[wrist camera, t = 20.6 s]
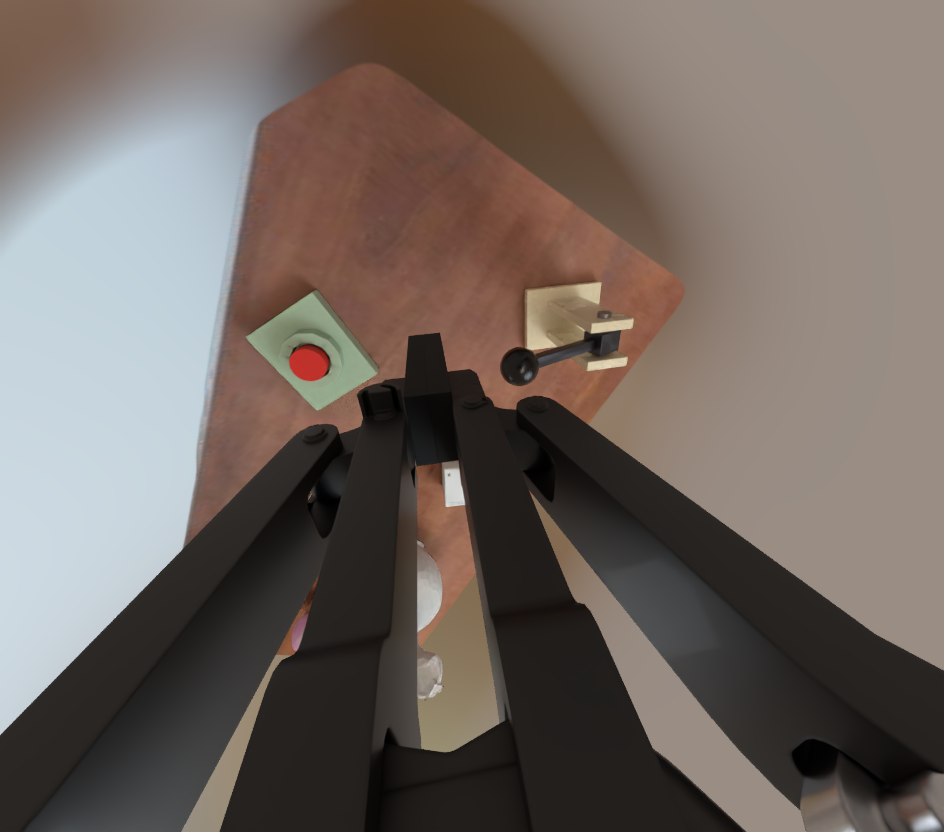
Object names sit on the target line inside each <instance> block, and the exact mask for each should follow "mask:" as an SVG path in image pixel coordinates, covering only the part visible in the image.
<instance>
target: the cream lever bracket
mask: <svg viewBox="0 0 944 832" xmlns="http://www.w3.org/2000/svg"><path fill="white" fill-rule="evenodd" d="M600 289H601V282H598V281H593V282H584V283H575V284H566V285H557V286H548V287H539V288H530V289H525V348H527V349H529V350H535V349H542V348H550V347H560V346H563V345H567V344H570V343H573V342H577V341H580V340H583V339H584V331H587V332H589V333H591V334H592V333H600V332H608V331H615V330H623V329H631V328H632V327H633V321H634V319H633V318H631V317H629V316H626V315H624V314H621V313H619V312H616V311H614V310H611V309H609V308H606V307H604V306H602V305H599V299H600ZM571 358H572V359H573V360H574V361H576V362H577V363H578V364H579V365H581V366H582V367H583V368H584V369H585V370H587V371H590V370H598V369H605V368H613V367H620V366H626V364H627V358H628V357H627V356H625V355H624V354H622V353H620V352H619V351H614V352H611V353H608V354H605V355H602V356H598V355H595V354H592V353H589V352H586V353H583V354H580V355H577V356H574V357H571Z"/></svg>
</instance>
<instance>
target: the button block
mask: <svg viewBox="0 0 944 832" xmlns="http://www.w3.org/2000/svg"><path fill="white" fill-rule="evenodd" d="M245 338H246V339H247V340H248V341H249V342H250V343H251V344H252V345H253V346H254V347H255V348H256V349H257V350H258V351H259V352H260V353H261V354H262V355H263V356H264V357H265V358H266V359H267V360H268V361H269V362H270V363H271V364H272V366H273V367H274V368H275V369H276V370H277V371H278V372H279V373H280V374H281V375H282V376H283V377H284V378H285V379H286V380H287V381H288V382H289V383H290V384H291V385H292V386H293V387H294V388H295V389H296V390H297V391H298V392H299V393H300V394H301V395H302V396H303V397H304V398H305V399H306V400H307V401H308V402H309V403H310V404H311V405H312V406H313V407H314V408H315V409H316V410H317V411H318V410H320V409H322V408H323V407H325V406H327V405H328V404H330V403H331V402H333V401H335V400H336V399H338V398H339V397H341V396H343V395H344V394H346V393H347V392H349V391H351V390H352V389H354V388H356V387H357V386H359V385H360V384H362V383H364V382H365V381H367V380H368V379H370V378H372V377H373V376H375V375H376V374H377V373H378V369H379V368H378V366H377V365H376V364H375V362H374V361H373V360H372V359H371V357H370V356H369V355H368V354H367V352H366V351H365V350H364V349H363V347H362V346H361V345H360V343H359V342H358V341H357V340H356V338H355V337H354V336H353V335H352V333H351V332H350V331H349V330H348V328H347V327H346V326H345V324H344V323H343V322H342V321H341V319H340V318H339V317H338V316H337V314H336V313H335V312H334V311H333V309H332V308H331V307H330V305H329V304H328V303H327V302H326V300H325V299H324V298H323V297H322V295H321V294H320V293H319V292H318V290H317V289H316V290H314V291H313V292H311V293H310V294H308V295H307V296H305V297H304V298H302V299H301V300H299V301H298V302H296V303H295V304H293V305H292V306H290V307H289V308H287V309H286V310H285V311H283V312H282V313H280V314H279V315H277V316H276V317H274V318H273V319H271V320H270V321H268V322H267V323H265V324H264V325H263V326H261V327H260V328H258V329H257V330H255V331H254V332H252V333H251V334H249V335H248V336H246V337H245ZM303 345H314V346H317V347H319V348H321V349H322V350H323V351H324V352H325V353H326V354H327V356H328V359H329V367H328V369H327V371H326V372H325V374H324V375H323V377H322V378H320V379H319V380H316V381H305V380H302V379H300V378H298V377H297V376H296V375H295V374H294V373H293V372H292V370H291V368H290V365H289V360H290V357H291V355H292V354H293V353H294V352H295V351H296V350H297V349H298V348H299V347H301V346H303Z"/></svg>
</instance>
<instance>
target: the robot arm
mask: <svg viewBox="0 0 944 832" xmlns="http://www.w3.org/2000/svg"><path fill="white" fill-rule="evenodd" d="M357 396H358V400H359V404H360V407H361V411H362V415H363V420H362V424H361V427H359V428H357V429H354V430H351V431H348V432H344V433H341V434H339V432H338V429H337V427H336V426H334V425H330V424H321V425H319V424H317V425H314V426H310V427H307V428H306V429H304V430H302V431H300V432H299V433H297V434H296V435H295V436H294V437H293V438H292V439H291V440H290V441H289V442H288V443H287V444H286V445H285V446H284V447H283V448H282V449H281V450H280V451H279V452H278V453H277V454H276V455H275V456H274V457H273V458H272V459H271V460H270V461H269V462H268V463H267V464H266V465H265V466H264V467H263V468H262V469H261V470H260V471H259V472H258V473H257V474H256V475H255V476H254V477H253V478H252V479H251V481H250V482H249V483H248V484H247V485H246V486H245V487H244V488H243V489H242V490H241V491H240V492H239V493H238V494H237V495H236V496H235V497H234V498H233V499H232V500H231V501H230V502H229V503H228V504H227V505H226V506H225V507H224V508H223V509H222V510H221V511H220V512H219V513H218V514H217V515H216V516H215V517H214V518H213V519H212V520H211V521H210V522H209V523H208V524H207V525H206V526H205V527H204V528H203V529H202V530H201V531H200V532H199V533H198V534H197V535H196V536H195V537H194V539H193V540H192V541H191V542H190V543H189V544H188V545H187V546H186V547H185V548H184V549H183V550H182V551H181V552H180V553H179V554H178V555H177V556H176V557H175V558H174V559H173V560H172V561H171V562H170V563H169V564H168V565H167V566H166V567H165V568H164V569H163V570H162V571H161V572H160V573H159V574H158V575H157V576H156V577H155V578H154V579H153V580H152V581H151V582H150V583H149V584H148V585H147V586H146V587H145V588H144V589H143V591H141V592H140V593H139V594H138V596H137V597H136V598H135V599H134V600H133V601H132V602H131V603H130V604H129V605H128V606H127V607H126V608H125V609H124V610H123V611H122V612H121V613H120V614H119V615H118V616H117V617H116V618H115V619H114V620H113V621H112V622H111V623H110V624H109V625H108V626H107V627H106V628H105V629H104V630H103V631H102V632H101V633H100V634H99V635H98V636H97V637H96V638H95V639H94V640H93V641H92V642H91V643H90V644H89V646H87V647H86V648H85V649H84V650H83V651H82V653H81V654H80V655H79V656H78V657H77V658H76V659H75V660H74V661H73V662H72V663H71V664H70V665H69V666H68V667H67V668H66V669H65V670H64V671H63V672H62V673H61V674H60V675H59V676H58V677H57V678H56V679H55V680H54V681H53V682H52V683H51V684H50V685H49V686H48V687H47V688H46V689H45V690H44V691H43V692H42V693H41V694H40V695H39V696H38V697H37V699H35V700H34V701H33V703H31V705H29V706H28V707H27V708H26V710H24V712H23V713H22V714H21V715H20V716H19V717H18V718H17V719H16V720H15V721H14V722H13V723H12V724H11V725H10V726H9V727H8V728H7V729H6V730H5V731H4V732H3V733H2V734H1V735H0V832H181V831H182V829H183V827H184V825H185V823H186V821H187V820H188V818H189V816H190V814H191V812H192V810H193V808H194V807H195V805H196V802H197V801H198V799H199V797H200V795H201V793H202V792H203V790H204V788H205V786H206V784H207V782H208V780H209V778H210V777H211V775H212V773H213V771H214V769H215V767H216V765H217V764H218V762H219V760H220V758H221V756H222V754H223V752H224V750H225V749H226V747H227V745H228V743H229V741H230V739H231V737H232V735H233V734H234V732H235V730H236V728H237V726H238V724H239V722H240V720H241V719H242V717H243V715H244V713H245V711H246V709H247V707H248V705H249V704H250V702H251V700H252V698H253V696H254V694H255V692H256V691H257V689H258V687H259V685H260V683H261V681H262V679H263V677H264V676H265V674H266V672H267V670H268V668H269V666H270V664H271V662H272V661H273V659H274V657H275V655H276V653H277V651H278V649H279V648H280V646H281V644H282V642H283V640H284V638H285V636H286V634H287V633H288V631H289V629H290V627H291V625H292V623H293V621H294V620H295V618H296V616H297V614H298V612H299V610H300V608H301V606H302V605H303V603H304V601H305V599H306V597H307V595H308V593H309V591H310V590H311V588H312V586H313V584H314V582H315V580H316V578H317V576H318V575H319V573H320V575H319V579H318V582H317V586H316V589H315V593H314V596H313V600H312V604H311V607H310V611H309V614H308V618H307V622H306V625H305V629H304V632H303V636H302V640H301V642H300V645H299V648H298V649H297V651H296V652H295V654H294V655H292V656H290V657H288V658H286V659H284V660H282V661H281V662H280V663H279V665H278V666H277V667H276V669H275V670H274V672H273V674H272V676H271V679H270V681H269V684H268V686H267V688H266V691H265V694H264V697H263V700H262V703H261V706H260V709H259V712H258V715H257V718H256V722H255V724H254V728H253V731H252V734H251V737H250V740H249V743H248V746H247V749H246V752H245V755H244V758H243V762H242V764H241V767H240V771H239V774H238V777H237V780H236V783H235V786H234V789H233V792H232V795H231V798H230V801H229V805H228V807H227V811H226V814H225V817H224V820H223V823H222V826H221V829H220V832H746V831H745V830H744V829H742V828H741V827H740V826H739V825H738V824H737V823H736V822H735V821H734V820H733V819H732V818H731V817H730V816H728V815H727V814H726V813H725V812H724V811H723V810H722V809H721V808H720V807H719V806H718V805H717V804H716V803H715V802H713V801H712V800H711V799H710V798H709V797H708V796H707V795H706V794H705V793H704V792H703V791H702V790H701V789H699V788H698V787H697V786H696V785H695V784H694V783H693V782H692V781H691V780H690V779H689V778H687V776H685V775H684V774H683V773H682V772H681V771H680V770H679V769H678V768H677V767H676V766H674V765H673V764H672V763H671V762H670V761H669V760H667V759H666V758H664V757H663V756H662V755H661V754H659V753H658V752H657V751H655V750H654V749H653V748H652V746H651V744H650V741H649V739H648V737H647V735H646V732H645V730H644V728H643V726H642V723H641V721H640V719H639V717H638V714H637V712H636V710H635V708H634V705H633V703H632V701H631V699H630V697H629V694H628V692H627V690H626V687H625V685H624V683H623V681H622V679H621V676H620V674H619V672H618V669H617V667H616V665H615V663H614V661H613V658H612V656H611V654H610V652H609V649H608V647H607V645H606V642H605V640H604V638H603V636H602V633H601V631H600V629H599V627H598V625H597V623H596V621H595V619H594V617H593V615H592V613H591V612H590V610H589V609H588V608H587V607H586V606H585V604H581V603H577V602H576V601H575V599H574V598H573V596H572V594H571V592H570V590H569V587H568V585H567V582H566V580H565V578H564V575H563V573H562V570H561V568H560V565H559V563H558V560H557V558H556V556H555V553H554V551H553V548H552V546H551V543H550V541H549V538H548V536H547V534H546V531H545V529H544V526H543V524H542V521H541V519H540V516H539V514H538V512H537V509H536V507H535V504H534V502H533V499H532V497H531V495H530V492H531V493H532V494H533V495H534V497H535V498H536V499H537V500H538V501H539V503H540V504H541V505H542V507H543V508H544V509H545V510H546V512H547V513H548V514H549V515H550V516H551V518H552V519H553V520H554V521H555V523H556V524H557V525H558V527H559V528H560V529H561V530H562V532H563V533H564V534H565V535H566V537H567V538H568V539H569V540H570V542H571V543H572V544H573V545H574V546H575V548H576V549H577V550H578V552H579V553H580V554H581V555H582V557H583V558H584V559H585V560H586V562H587V563H588V564H589V565H590V567H591V568H592V569H593V570H594V572H595V573H596V574H597V575H598V577H599V578H600V579H601V580H602V582H603V583H604V584H605V585H606V587H607V588H608V589H609V590H610V592H611V593H612V594H613V595H614V597H615V598H616V599H617V601H618V602H619V603H620V604H621V605H622V607H623V608H624V609H625V610H626V611H627V613H628V614H629V615H630V617H631V618H632V619H633V621H634V622H635V623H636V624H637V626H638V627H639V628H640V629H641V631H642V632H643V633H644V634H645V636H646V637H647V638H648V639H649V641H650V642H651V643H652V644H653V646H654V647H655V648H656V649H657V650H658V652H659V653H660V654H661V656H662V657H663V658H664V659H665V660H666V662H667V663H668V664H669V665H670V667H671V668H672V669H673V671H674V672H675V673H676V674H677V676H678V677H679V678H680V679H681V681H682V682H683V683H684V684H685V686H687V688H688V689H689V690H690V692H691V693H692V694H693V696H694V697H695V698H696V699H697V701H698V702H699V703H700V704H701V706H702V707H703V708H704V709H705V711H706V712H707V713H708V714H709V715H710V717H711V718H712V719H713V720H714V721H715V722H716V724H717V725H718V726H719V727H720V728H721V729H722V731H723V732H724V733H725V734H726V735H727V736H728V738H729V739H730V740H731V741H732V742H733V744H734V745H735V746H736V747H737V748H738V749H739V751H741V753H742V754H743V755H744V756H745V757H746V758H747V759H748V760H749V761H750V762H751V763H752V764H753V765H754V766H755V767H756V768H757V769H758V770H759V771H760V772H761V773H762V774H763V775H764V776H765V777H766V778H767V779H768V780H769V781H770V782H771V783H772V784H773V785H774V787H775V788H776V789H778V790H779V791H780V792H781V793H782V794H783V795H784V796H785V797H786V798H787V799H788V800H790V801H791V802H792V803H793V804H794V805H795V806H796V807H797V808H798V809H799V810H800V811H801V814H802V818H803V822H804V825H805V830H806V832H944V671H943V670H941V669H940V668H938V667H936V666H934V665H932V664H930V663H928V662H926V661H925V660H923V659H921V658H919V657H917V656H915V655H913V654H911V653H909V652H908V651H906V650H904V649H902V648H900V647H898V646H896V645H894V644H892V643H891V642H889V641H887V640H885V639H883V638H881V637H879V636H877V635H876V634H874V633H873V632H871V631H870V630H869V629H867V628H866V627H864V626H863V625H862V624H860V623H859V622H858V621H856V620H855V619H854V618H852V617H851V616H850V615H848V614H847V613H845V612H844V611H843V610H841V609H840V608H839V607H837V606H836V605H834V604H833V603H832V602H830V601H829V600H828V599H826V598H825V597H823V596H822V595H821V594H819V593H818V592H817V591H815V590H814V589H812V588H811V587H810V586H808V585H807V584H806V583H804V582H803V581H802V580H800V579H799V578H797V577H796V576H795V575H793V574H792V573H790V572H789V571H788V570H786V569H785V568H783V567H782V566H781V565H779V564H778V563H777V562H775V561H774V560H773V559H771V558H770V557H769V556H767V555H766V554H764V553H763V552H762V551H760V550H759V549H758V548H756V547H755V546H754V545H752V544H751V543H749V542H748V541H746V540H745V539H744V538H742V537H741V536H740V535H738V534H737V533H736V532H734V531H733V530H732V529H730V528H729V527H727V526H726V525H725V524H723V523H722V522H720V521H719V520H718V519H716V518H715V517H714V516H712V515H711V514H710V513H708V512H707V511H706V510H704V509H702V508H701V507H700V506H699V505H697V504H696V503H695V502H693V501H692V500H690V499H689V498H687V497H686V496H685V495H684V494H682V493H681V492H679V491H678V490H677V489H675V488H674V487H673V486H671V485H670V484H668V483H667V482H666V481H664V480H663V479H662V478H660V477H659V476H658V475H656V474H655V473H653V472H652V471H651V470H649V469H648V468H647V467H645V466H644V465H642V464H641V463H640V462H638V461H637V460H636V459H634V458H633V457H631V456H630V455H629V454H627V453H626V452H625V451H623V450H622V449H620V448H619V447H618V446H616V445H615V444H614V443H612V442H611V441H609V440H608V439H607V438H605V437H604V436H603V435H601V434H600V433H598V432H597V431H596V430H594V429H593V428H591V427H590V426H589V425H588V424H586V423H585V422H583V421H582V420H581V419H579V418H578V417H577V416H575V415H574V414H572V413H571V412H570V411H568V410H567V409H566V408H564V407H563V406H562V405H560V404H559V403H557V402H556V401H554V400H552V399H550V398H546V397H543V396H532V397H527V398H524V399H522V400H520V401H519V402H518V403H517V407H516V410H511V409H501V408H497V407H494V404H493V402H492V400H491V399H490V398H488V397H486V396H485V394H484V391H483V389H482V386H481V384H480V381H479V378H478V376H477V373H475V372H474V371H472V370H470V369H467V370H459V371H450V372H447V367H446V362H445V357H444V352H443V346H442V341H441V336H440V333H433V334H424V335H414V336H409V339H408V350H407V362H406V374H405V378H398V379H390V380H385V381H383V382H382V383H379V384H374V385H370V386H368V387H365V388H364V389H362V390H360V391H359V393H358V394H357ZM415 460H416V465H417V466H422V465H429V464H436V463H443V462H450V461H457V460H458V462H459V471H460V480H461V486H462V489H463V495H464V501H465V507H466V513H467V520H468V526H469V532H470V538H471V544H472V550H473V557H474V563H475V569H476V575H477V581H478V587H479V594H480V600H481V606H482V612H483V618H484V624H485V630H486V637H487V643H488V649H489V654H490V661H491V667H492V674H493V679H494V686H495V693H496V699H497V707H498V715H499V722H500V724H498V725H496V726H495V727H493V728H491V729H490V730H488V731H486V732H485V733H483V734H481V735H480V736H478V737H476V738H475V739H473V740H471V741H470V742H468V743H466V744H465V745H463V746H461V747H460V748H458V749H456V750H454V751H451V752H437V751H430V750H424V749H421V736H420V727H419V719H418V705H417V471H416V466H415ZM528 489H529V490H530V492H529V490H528ZM310 491H311V492H312V496H311V498H310V499H309V500H308V496H309V494H310Z"/></svg>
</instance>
